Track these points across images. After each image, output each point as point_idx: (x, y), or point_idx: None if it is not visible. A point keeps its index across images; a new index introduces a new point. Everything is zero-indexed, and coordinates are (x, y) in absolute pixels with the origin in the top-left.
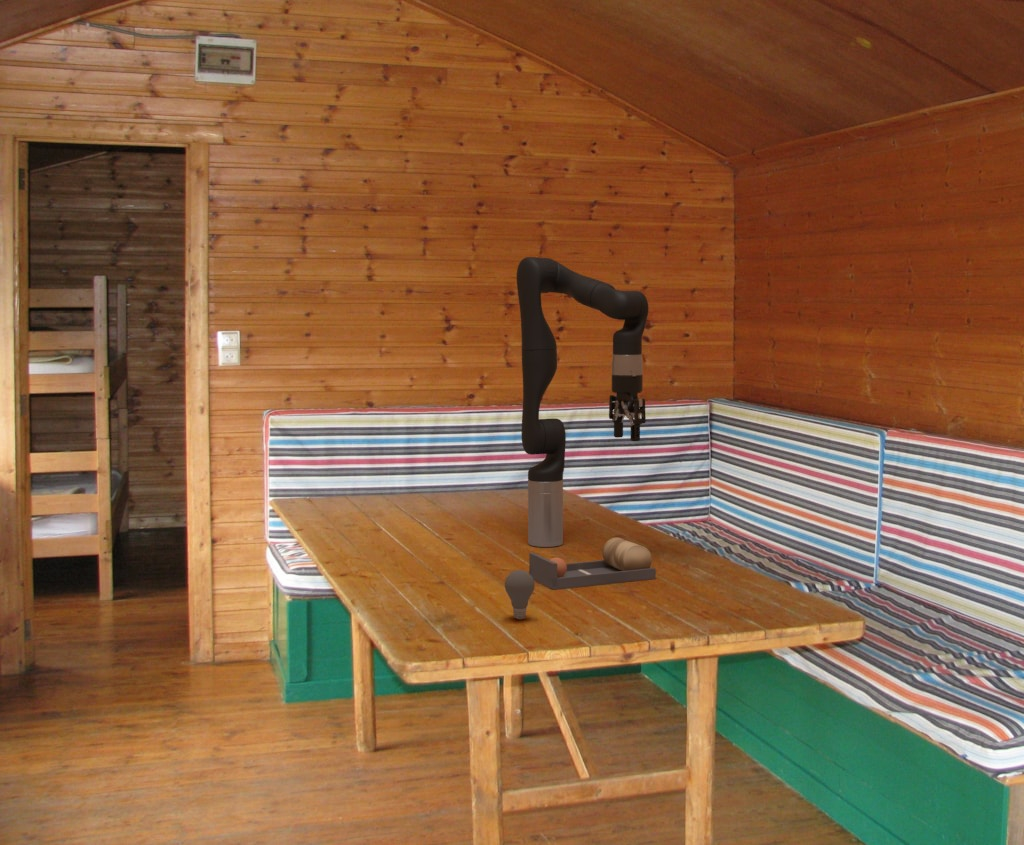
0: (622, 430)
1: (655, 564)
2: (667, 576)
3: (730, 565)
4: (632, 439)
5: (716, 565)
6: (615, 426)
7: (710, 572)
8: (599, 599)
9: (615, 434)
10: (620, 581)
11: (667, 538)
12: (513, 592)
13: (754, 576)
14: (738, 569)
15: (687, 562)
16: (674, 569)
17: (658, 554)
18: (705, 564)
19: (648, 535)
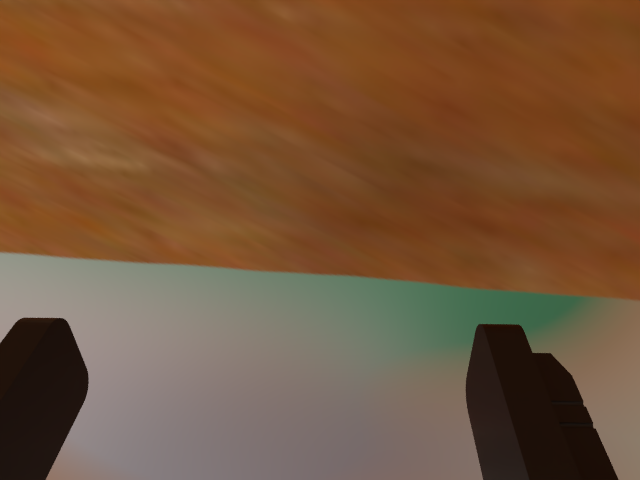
0: (483, 463)
1: (224, 78)
2: (40, 24)
3: (155, 257)
4: (20, 330)
5: (163, 228)
6: (518, 451)
7: (79, 172)
8: None
9: (487, 347)
10: None
11: (546, 287)
12: None
13: (18, 243)
14: (104, 250)
15: (222, 180)
16: (138, 98)
17: (360, 160)
18: (183, 210)
19: (621, 265)
